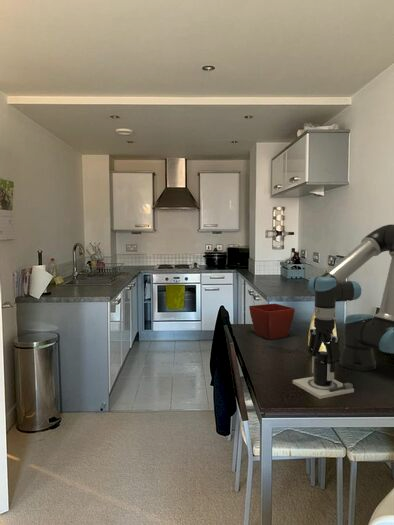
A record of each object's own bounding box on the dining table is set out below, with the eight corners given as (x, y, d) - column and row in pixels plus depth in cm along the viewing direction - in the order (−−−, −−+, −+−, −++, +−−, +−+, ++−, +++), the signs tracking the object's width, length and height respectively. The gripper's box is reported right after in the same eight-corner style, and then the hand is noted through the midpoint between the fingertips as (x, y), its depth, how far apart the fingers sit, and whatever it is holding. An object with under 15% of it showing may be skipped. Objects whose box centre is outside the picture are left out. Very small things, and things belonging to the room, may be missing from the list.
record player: (324, 377, 163) (324, 370, 163) (353, 391, 148) (354, 384, 148) (292, 383, 156) (292, 376, 156) (319, 398, 142) (320, 391, 142)
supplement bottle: (327, 380, 156) (328, 350, 155) (334, 386, 149) (335, 355, 149) (310, 380, 156) (311, 350, 155) (316, 386, 149) (317, 355, 148)
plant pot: (247, 333, 231) (248, 305, 230) (274, 330, 239) (275, 303, 238) (266, 342, 214) (267, 311, 213) (295, 338, 222) (295, 308, 221)
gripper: (299, 313, 158) (297, 368, 160) (336, 324, 139) (334, 387, 141) (314, 311, 161) (312, 366, 163) (352, 322, 142) (350, 384, 144)
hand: (322, 376), depth 152 cm, fingers open, 8 cm apart
